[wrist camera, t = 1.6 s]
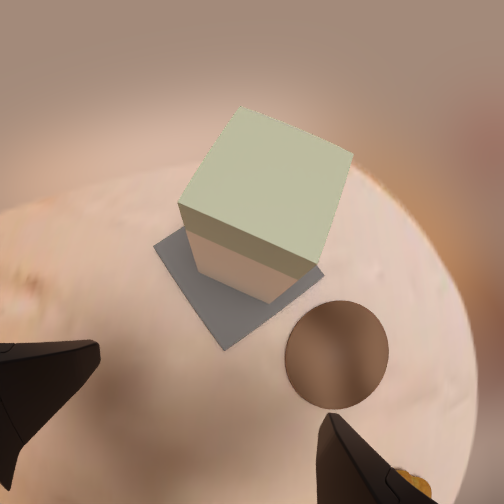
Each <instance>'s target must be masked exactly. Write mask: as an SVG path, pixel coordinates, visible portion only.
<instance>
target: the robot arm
mask: <svg viewBox="0 0 504 504" xmlns="http://www.w3.org/2000/svg"><path fill="white" fill-rule="evenodd" d="M100 360H101V357H100V347H99V344H98V343H97V342H95V341H93V340H76V341H60V342H40V343H16V344H15V343H0V484H1V485H2V486H3V487H4V488H5V489H6V490H7V491H10V489H11V484H12V479H13V475H14V471H15V466H16V462H17V458H18V455H19V452H20V451H21V449H22V448H23V447H24V445H25V444H26V443H27V442H28V441H29V440H30V439H31V438H32V437H33V436H34V435H35V434H36V433H37V432H38V431H39V430H40V429H41V428H42V427H43V426H44V425H45V424H46V423H47V422H48V421H49V420H50V419H51V418H52V417H53V415H54V414H55V413H56V412H57V411H58V410H59V409H60V408H61V407H62V406H63V405H64V404H65V403H66V402H67V401H68V400H69V399H70V398H71V397H72V396H73V395H74V394H75V393H76V392H77V391H78V390H79V389H80V388H81V387H82V386H83V385H84V383H85V382H86V381H87V380H88V378H89V377H90V376H91V374H92V373H93V372H94V371H95V369H96V368H97V367H98V365H99V364H100ZM316 480H317V504H438V503H437V502H435V501H434V500H432V499H431V498H430V497H428V496H427V495H425V494H424V493H423V492H421V491H420V490H419V489H417V488H416V487H415V486H413V485H412V484H411V483H410V482H408V481H407V480H406V479H405V478H404V477H403V476H401V475H400V474H399V473H398V472H397V471H396V470H395V469H394V468H393V467H391V466H390V465H389V464H388V463H387V462H386V461H385V460H384V459H383V458H382V457H381V456H380V455H379V454H378V453H377V452H376V451H375V450H374V449H373V448H372V447H371V446H370V445H369V444H368V443H367V442H366V441H365V440H364V439H363V438H362V437H361V436H360V435H359V434H358V433H357V432H356V431H355V430H354V429H353V428H352V427H351V426H350V425H349V424H348V423H347V422H346V421H345V420H344V419H343V418H342V417H341V416H340V415H339V414H336V413H328V414H327V415H326V417H325V419H324V420H323V422H322V424H321V426H320V428H319V433H318V444H317V455H316Z"/></svg>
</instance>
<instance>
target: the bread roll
mask: <svg viewBox="0 0 504 504" xmlns="http://www.w3.org/2000/svg"><path fill="white" fill-rule="evenodd" d="M396 471H397V472H398V473H399V474H400V475H401V476H403V477H404V478H405V479H406V480H407V481H408V482H410V483H411V484H412V485H413V486H415V487H416V488H417V489H419V490H420V491H421V492H423V493H424V494H425V495H427V496H428V497H430V498H431V494H432V493H431V487H430V485H429V484H428V482H427V481H425V480H424V479H422V478H419V477H414V476H411V475H410V474H409V473H408V472H407V471H404V470H396Z"/></svg>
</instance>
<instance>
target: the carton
mask: <svg viewBox="0 0 504 504" xmlns="http://www.w3.org/2000/svg"><path fill="white" fill-rule="evenodd" d="M353 155H354V154H353V153H351V152H349V151H347V150H345V149H343V148H341V147H338V146H336V145H335V144H332V143H330V142H328V141H326V140H324V139H322V138H319V137H317V136H315V135H313V134H310V133H308V132H306V131H303V130H301V129H298V128H296V127H294V126H291V125H289V124H287V123H284V122H281V121H279V120H276V119H274V118H271V117H268V116H266V115H263V114H260V113H258V112H255V111H252V110H250V109H247V108H244V107H241V106H240V107H239V108H238V110H237V111H236V113H235V114H234V116H233V117H232V119H231V120H230V121H229V123H228V124H227V126H226V127H225V128H224V130H223V131H222V133H221V134H220V136H219V137H218V139H217V140H216V142H215V143H214V145H213V146H212V148H211V149H210V151H209V152H208V154H207V155H206V157H205V158H204V160H203V162H202V163H201V165H200V166H199V168H198V169H197V171H196V172H195V174H194V176H193V177H192V179H191V181H190V182H189V184H188V185H187V187H186V189H185V190H184V192H183V194H182V195H181V197H180V199H179V200H178V206H179V209H180V213H181V216H182V220H183V223H184V227H185V230H186V233H187V237H188V240H189V243H190V246H191V250H192V253H193V256H194V259H195V262H196V266H197V269H198V272H199V273H201V274H204V275H206V276H208V277H210V278H212V279H214V280H217V281H219V282H221V283H223V284H225V285H227V286H230V287H232V288H234V289H236V290H238V291H241V292H243V293H245V294H247V295H250V296H252V297H254V298H256V299H259V300H261V301H263V302H266V303H268V304H270V303H271V302H273V301H274V300H275V299H276V298H277V297H279V296H280V295H281V294H282V293H284V292H285V291H286V290H287V289H288V288H290V287H291V286H292V285H293V284H294V283H296V282H297V281H298V280H299V279H300V278H302V277H303V276H304V275H305V274H306V273H307V272H309V271H310V270H311V269H312V268H313V267H315V266H316V265H317V264H318V261H319V258H320V256H321V253H322V250H323V247H324V244H325V242H326V239H327V236H328V233H329V230H330V227H331V224H332V221H333V218H334V215H335V212H336V209H337V206H338V203H339V200H340V197H341V194H342V191H343V188H344V184H345V181H346V178H347V175H348V171H349V168H350V165H351V161H352V158H353Z"/></svg>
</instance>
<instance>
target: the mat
mask: <svg viewBox="0 0 504 504" xmlns="http://www.w3.org/2000/svg"><path fill="white" fill-rule="evenodd" d="M153 247H154V248H155V250H156V252H157V253H158V255H159V256H160V258H161V260H162V261H163V263H164V264H165V266H166V267H167V269H168V270H169V272H170V274H171V275H172V277H173V278H174V280H175V281H176V283H177V284H178V286H179V287H180V289H181V290H182V292H183V293H184V295H185V296H186V298H187V299H188V301H189V302H190V304H191V305H192V306H193V308H194V309H195V311H196V312H197V314H198V315H199V317H200V318H201V319H202V321H203V322H204V324H205V325H206V326H207V328H208V329H209V331H210V332H211V333H212V335H213V336H214V338H215V339H216V340H217V342H218V343H219V344H220V346H221V347H222V348H223V350H224V351H225V350H227V349H228V348H229V347H231V346H232V345H234V344H235V343H237V342H238V341H239V340H241V339H242V338H244V337H245V336H246V335H248V334H249V333H250V332H252V331H253V330H255V329H256V328H257V327H259V326H260V325H261V324H263V323H264V322H265V321H267V320H268V319H269V318H271V317H272V316H274V315H275V314H276V313H278V312H279V311H280V310H281V309H283V308H284V307H285V306H287V305H288V304H289V303H291V302H292V301H293V300H295V299H296V298H297V297H298V296H300V295H301V294H302V293H304V292H305V291H306V290H307V289H309V288H310V287H311V286H313V285H314V284H315V283H316V282H318V281H319V280H320V279H321V278H323V277H324V274H323V273H322V272H321V270H320V269H319V268H318V266H317V265H316V266H315V267H313V268H312V269H311V270H310V271H309V272H307V273H306V274H305V275H304V276H303V277H302V278H300V279H299V280H298V281H297V282H296V283H294V284H293V285H292V286H291V287H290V288H288V289H287V290H286V291H285V292H284V293H282V294H281V295H280V296H279V297H277V298H276V299H275V300H274V301H273V302H271V303H270V304H268V303H266V302H263V301H261V300H259V299H256V298H254V297H252V296H250V295H247V294H245V293H243V292H241V291H238V290H236V289H234V288H232V287H230V286H227V285H225V284H223V283H221V282H219V281H217V280H214V279H212V278H210V277H208V276H206V275H204V274H201V273H199V272H198V269H197V266H196V262H195V259H194V256H193V253H192V250H191V246H190V243H189V240H188V237H187V233H186V230H185V227H182V228H180V229H179V230H177V231H176V232H174V233H173V234H171V235H170V236H168V237H167V238H165V239H163V240H162V241H160V242H159V243H157V244H156V245H154V246H153Z"/></svg>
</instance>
